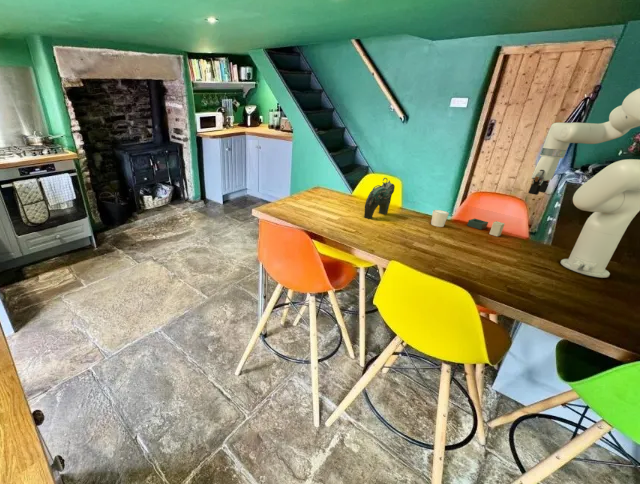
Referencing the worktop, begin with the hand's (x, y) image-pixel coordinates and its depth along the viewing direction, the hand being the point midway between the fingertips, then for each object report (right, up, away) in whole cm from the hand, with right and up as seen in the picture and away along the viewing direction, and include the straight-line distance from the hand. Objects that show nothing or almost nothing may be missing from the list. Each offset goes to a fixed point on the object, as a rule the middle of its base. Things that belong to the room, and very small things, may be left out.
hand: (536, 192), depth 132 cm
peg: (-12, -19, +9) cm, 24 cm away
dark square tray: (-13, -15, +18) cm, 27 cm away
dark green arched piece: (-60, -10, +27) cm, 66 cm away
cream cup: (-33, -14, +18) cm, 40 cm away
